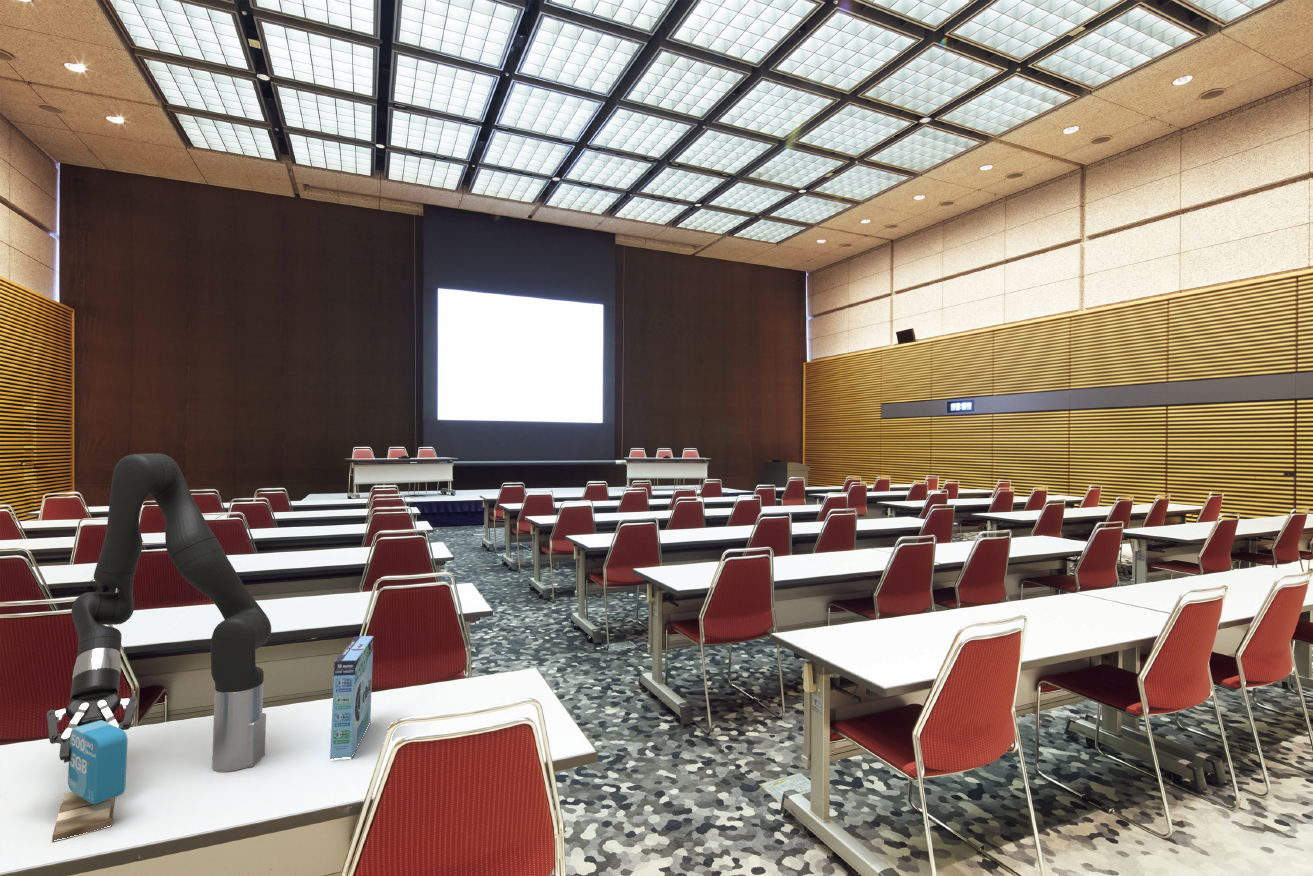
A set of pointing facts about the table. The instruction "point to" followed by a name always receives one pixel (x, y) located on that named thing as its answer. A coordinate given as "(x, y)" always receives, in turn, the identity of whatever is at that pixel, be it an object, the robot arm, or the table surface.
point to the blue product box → (351, 696)
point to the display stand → (82, 816)
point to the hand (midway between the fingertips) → (88, 755)
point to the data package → (97, 761)
